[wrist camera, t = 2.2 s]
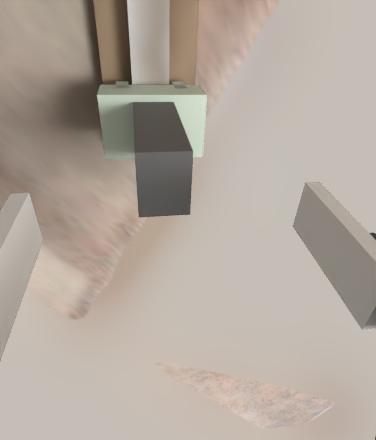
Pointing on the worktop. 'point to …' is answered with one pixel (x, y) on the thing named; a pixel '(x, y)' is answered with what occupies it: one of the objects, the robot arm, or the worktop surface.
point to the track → (120, 46)
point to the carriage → (155, 139)
